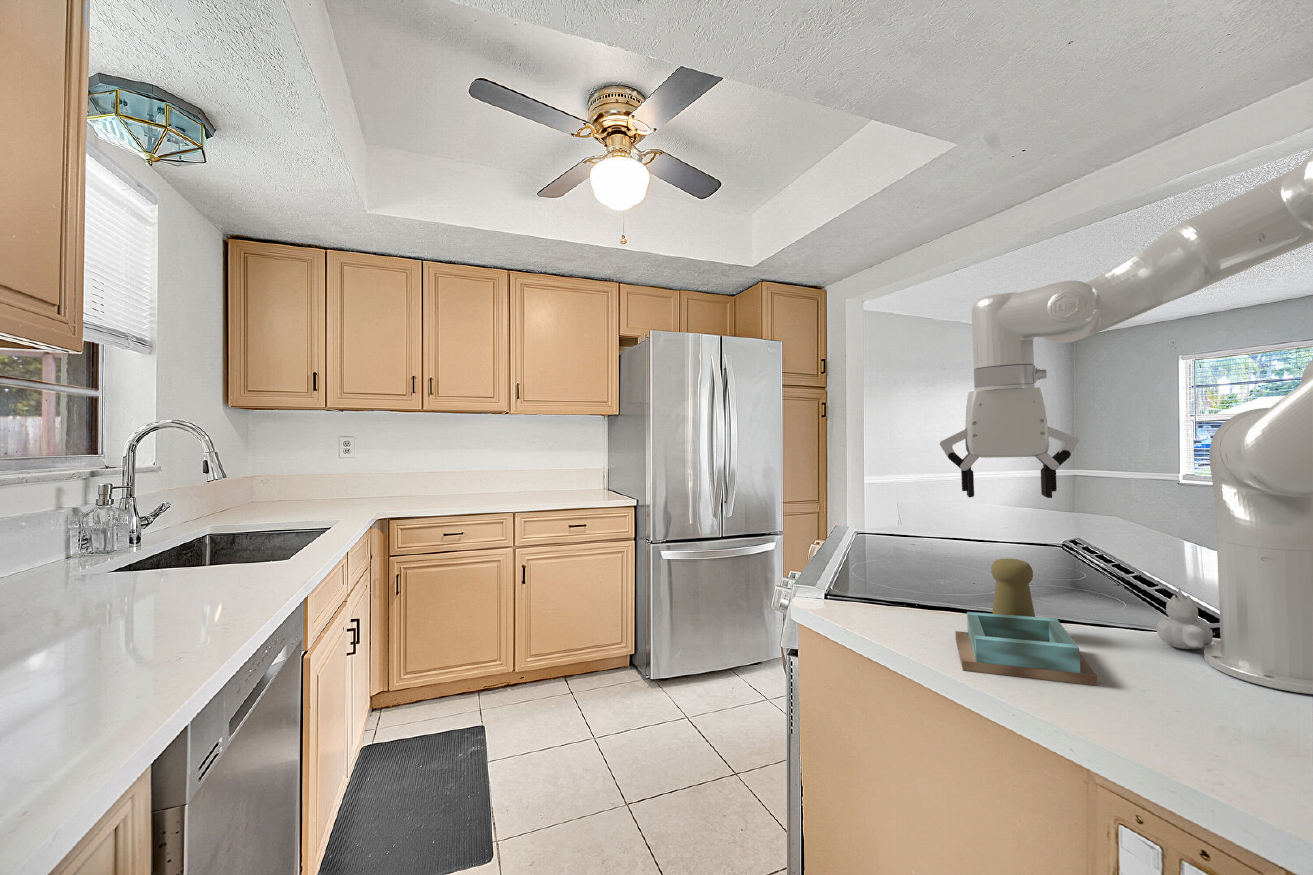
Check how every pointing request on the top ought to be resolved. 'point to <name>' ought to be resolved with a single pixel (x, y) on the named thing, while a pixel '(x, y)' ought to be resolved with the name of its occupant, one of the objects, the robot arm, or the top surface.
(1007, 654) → the board
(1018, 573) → the cork
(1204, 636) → the rubber duck
